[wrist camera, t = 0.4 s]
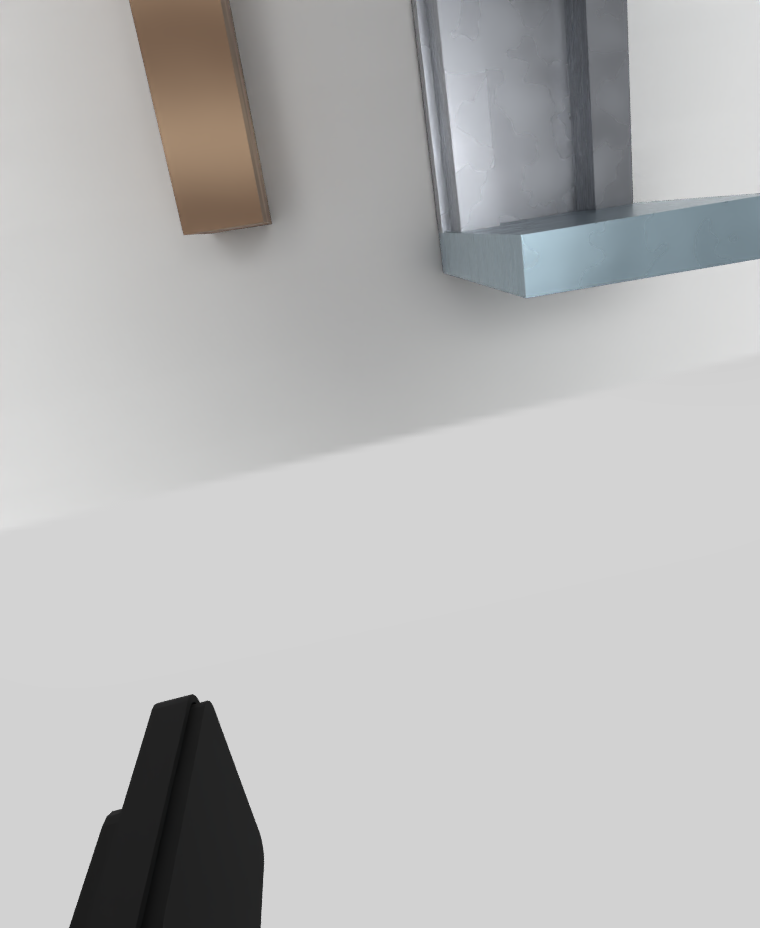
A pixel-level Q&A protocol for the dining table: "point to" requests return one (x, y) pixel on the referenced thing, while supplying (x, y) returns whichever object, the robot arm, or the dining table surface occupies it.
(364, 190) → the dining table surface
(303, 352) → the dining table surface
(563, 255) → the door track
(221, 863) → the robot arm
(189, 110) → the brown rectangular block
